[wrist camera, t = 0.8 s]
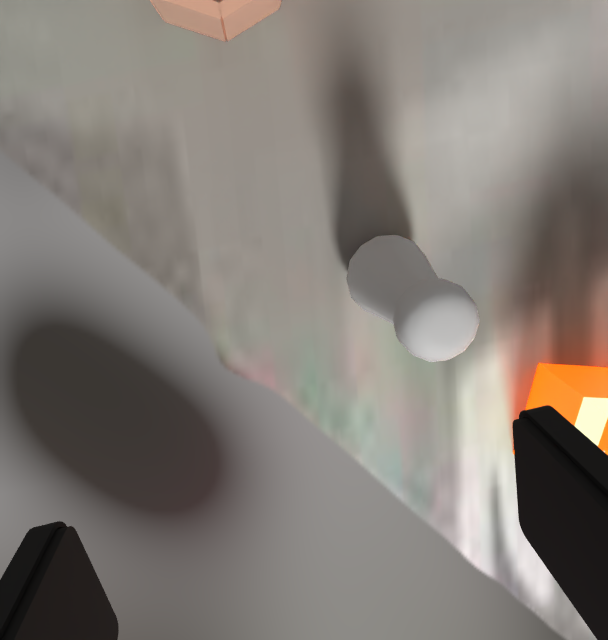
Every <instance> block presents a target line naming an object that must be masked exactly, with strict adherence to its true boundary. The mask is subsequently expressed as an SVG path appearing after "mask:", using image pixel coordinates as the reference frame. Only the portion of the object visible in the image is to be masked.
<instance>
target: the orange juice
mask: <svg viewBox="0 0 608 640" xmlns="http://www.w3.org/2000/svg"><path fill="white" fill-rule="evenodd" d="M545 405H550V406H551V407H553V408H554V409H555V410H557V411H558V412H559V413H560V414H561V415H562V416H563V417H565V418H566V419H567V420H568V421H569V422H570V423H572V424H573V425H574V426H575V427H576V428H577V429H578V430H580V431H581V432H582V433H583V434H584V435H585V436H586V437H588V438H589V439H590V440H591V441H592V442H593V443H594V444H596V445H597V446H598V447H599V448H600V449H601V450H603V451H604V452H605V453H606V454H607V455H608V367H593V366H577V365H560V364H544V363H538V366H537V370H536V373H535V377H534V380H533V384H532V388H531V391H530V395H529V398H528V402H527V405H526V409H525V410H528V409H532V408H537V407H541V406H545ZM513 454H514V451H513ZM514 455H515V454H514Z"/></svg>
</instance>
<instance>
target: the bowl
mask: <svg viewBox="0 0 608 640" xmlns="http://www.w3.org/2000/svg"><path fill="white" fill-rule="evenodd" d="M150 1H151V3H152V4H153V6H154V7H155V9H156V10H157V12H158V13H159V15H160V16H161V17H162V19H163V20H164V21H165V22H167V23H170V24H173V25H176V26H179V27H182V28H185V29H188V30H191V31H194V32H197V33H200V34H203V35H206V36H209V37H212V38H216V39H219V40H222V41H226V39H227V41H229V40H231V39H232V38H234V37H235V36H237V35H239V34H240V33H242V32H243V31H245V30H247V29H248V28H250V27H251V26H253V25H255V24H256V23H258V22H259V21H261V20H263V19H264V18H266V17H267V16H269V15H270V14H272V13H274V12H275V11H277V10H278V9H279V7H280V6H281V1H282V0H150Z"/></svg>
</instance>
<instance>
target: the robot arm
mask: <svg viewBox="0 0 608 640" xmlns="http://www.w3.org/2000/svg"><path fill="white" fill-rule="evenodd" d="M513 439H514V454H515V469H516V484H517V499H518V514H519V522H520V526H521V529H522V531H523V533H524V535H525V537H526V539H527V540H528V541H529V543H530V544H531V546H532V547H533V549H534V550H535V551H536V553H537V554H538V556H539V557H540V559H541V560H542V561H543V563H544V564H545V566H546V567H547V569H548V570H549V571H550V573H551V574H552V576H553V577H554V578H555V580H556V581H557V583H558V584H559V586H560V587H561V588H562V590H563V591H564V593H565V594H566V596H567V597H568V598H569V600H570V601H571V603H572V604H573V606H574V607H575V608H576V610H577V611H578V613H579V614H580V616H581V617H582V618H583V620H584V621H585V623H586V624H587V626H588V627H589V628H590V630H591V631H592V633H593V634H594V636H595V637H596V638H597V640H608V455H607V454H606V453H605V452H604V451H603V450H601V449H600V448H599V447H598V446H597V445H596V444H594V443H593V442H592V441H591V440H590V439H589V438H588V437H586V436H585V435H584V434H583V433H582V432H581V431H580V430H578V429H577V428H576V427H575V426H574V425H573V424H572V423H570V422H569V421H568V420H567V419H566V418H565V417H563V416H562V415H561V414H560V413H559V412H558V411H557V410H555V409H554V408H553V407H551V406H550V405H545V406H541V407H537V408H532V409H528V410H524V411H522V412H520V415H519V419H517V420H514V421H513ZM117 638H118V621H117V618H116V615H115V613H114V611H113V609H112V607H111V604H110V602H109V600H108V598H107V596H106V594H105V592H104V589H103V587H102V585H101V583H100V581H99V579H98V577H97V575H96V572H95V570H94V568H93V566H92V564H91V562H90V559H89V557H88V555H87V553H86V551H85V549H84V547H83V544H82V542H81V540H80V538H79V536H78V534H77V532H76V530H75V529H74V528H73V527H72V526H69V527H67V526H66V524H65V523H63V522H54V523H50V524H47V525H42V526H38V527H34V528H32V529H30V530H29V531H28V533H27V534H26V536H25V538H24V539H23V541H22V543H21V545H20V547H19V548H18V550H17V552H16V553H15V555H14V557H13V558H12V560H11V562H10V564H9V565H8V567H7V569H6V571H5V573H4V574H3V576H2V578H1V580H0V640H117Z"/></svg>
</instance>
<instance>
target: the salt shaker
mask: <svg viewBox="0 0 608 640" xmlns="http://www.w3.org/2000/svg"><path fill="white" fill-rule="evenodd" d="M347 283H348V287H349V291H350V295H351V298H352V299H353V300H354V301H355V302H356V303H357V304H358V305H359V306H360V307H361V308H362V309H363V310H364V311H366V312H369V313H371V314H373V315H375V316H377V317H379V318H381V319H383V320H386V321H388V322H390V323H392V324H394V328H395V332H396V336H397V338H398V340H399V342H400V343H401V344H402V345H403V346H404V347H405V348H406V349H407V350H408V351H409V352H410V353H411V354H413V355H414V356H416V357H419V358H421V359H424V360H427V361H430V362H435V361H444V360H449V359H451V358H453V357H454V356H456V355H458V354H460V353H462V352H464V351H465V349H466V348H467V347H468V346H469V344H470V343H471V342H472V341H473V339H474V338H475V335H476V332H477V329H478V325H479V322H480V320H479V315H478V310H477V305H476V303H475V302H474V301H473V299H472V298H471V297H470V296H469V294H468V293H467V292H466V291H465V289H464V288H463V287H462V286H460V285H458V284H455V283H453V282H450V281H447V280H445V279H442V278H439V279H438V277H437V275H436V273H435V272H434V270H433V268H432V266H431V265H430V263H429V261H428V259H427V258H426V256H425V254H424V253H423V252H422V251H421V250H420V248H419V247H418V246H417V245H416V243H415V242H414V241H411V240H409V239H406V238H404V237H401V236H399V235H385V236H376V237H374V238H373V239H371V240H369V241H368V242H366V243H364V244H363V245H361V246H360V248H359V249H358V250H357V251H356V253H355V254H354V255H353V257H352V258H351V259H350V262H349V268H348V274H347Z"/></svg>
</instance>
